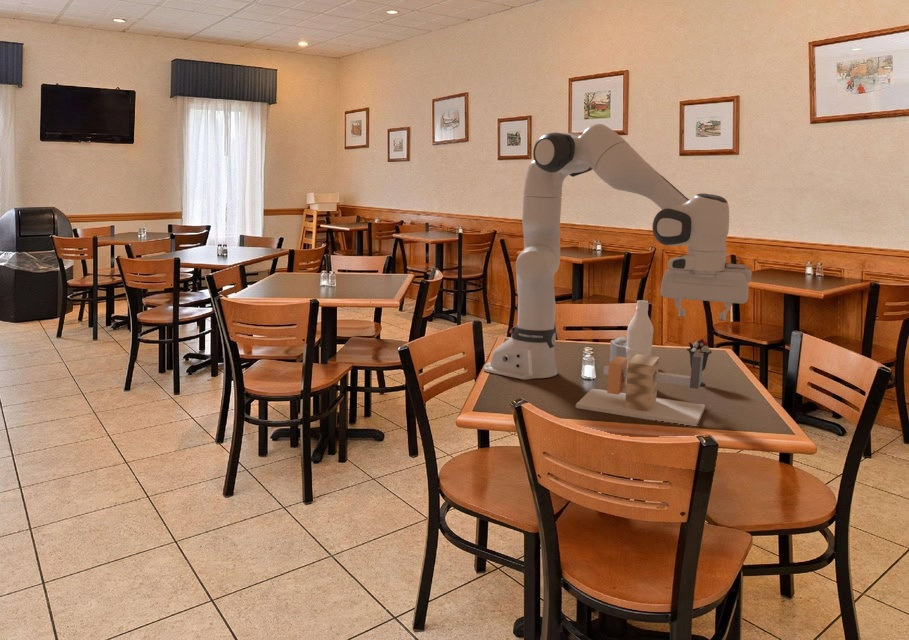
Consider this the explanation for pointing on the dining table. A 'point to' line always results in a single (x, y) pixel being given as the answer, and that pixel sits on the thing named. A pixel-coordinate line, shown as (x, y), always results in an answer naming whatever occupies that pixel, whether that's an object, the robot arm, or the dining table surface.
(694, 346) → the sundae
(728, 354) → the dining table surface
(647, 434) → the dining table surface
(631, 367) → the bearing block
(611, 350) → the lumpy-topped squat cylinder
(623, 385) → the block
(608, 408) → the base board
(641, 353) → the water bottle
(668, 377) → the shaft
